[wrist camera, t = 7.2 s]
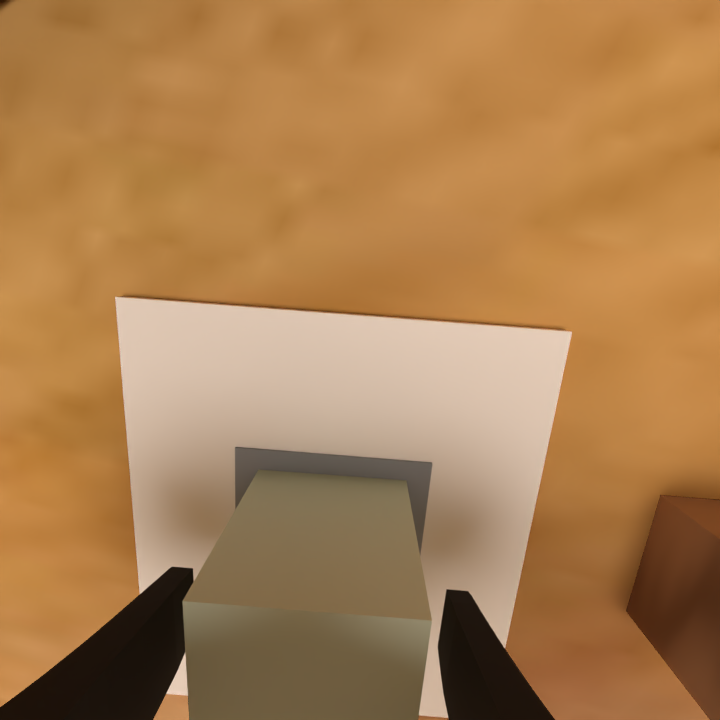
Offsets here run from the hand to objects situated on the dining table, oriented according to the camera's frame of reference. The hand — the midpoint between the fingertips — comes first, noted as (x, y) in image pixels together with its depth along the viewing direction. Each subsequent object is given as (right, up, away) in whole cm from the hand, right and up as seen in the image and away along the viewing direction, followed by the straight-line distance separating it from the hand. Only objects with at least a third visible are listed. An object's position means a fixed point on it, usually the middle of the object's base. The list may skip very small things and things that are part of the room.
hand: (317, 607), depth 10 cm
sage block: (0, +1, +3) cm, 3 cm away
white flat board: (0, +1, +3) cm, 3 cm away
